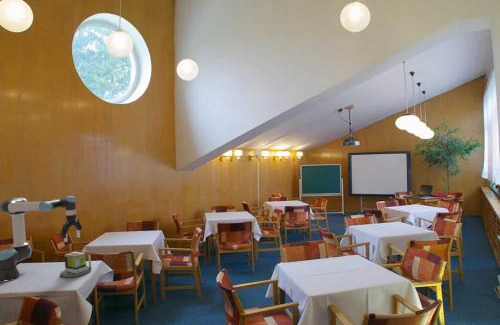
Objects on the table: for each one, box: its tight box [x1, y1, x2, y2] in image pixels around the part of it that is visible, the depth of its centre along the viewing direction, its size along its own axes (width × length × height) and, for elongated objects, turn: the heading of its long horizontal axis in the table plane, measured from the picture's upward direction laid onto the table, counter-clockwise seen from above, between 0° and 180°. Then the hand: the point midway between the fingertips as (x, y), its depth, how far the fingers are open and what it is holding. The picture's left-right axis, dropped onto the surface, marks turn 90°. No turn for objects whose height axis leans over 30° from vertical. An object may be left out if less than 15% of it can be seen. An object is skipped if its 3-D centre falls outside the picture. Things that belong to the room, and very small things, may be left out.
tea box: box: [64, 251, 87, 274], centre depth 274 cm, size 15×10×15 cm, turn 60°
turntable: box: [59, 254, 92, 279], centre depth 274 cm, size 23×23×13 cm
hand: (72, 239), depth 275 cm, fingers open, 13 cm apart
